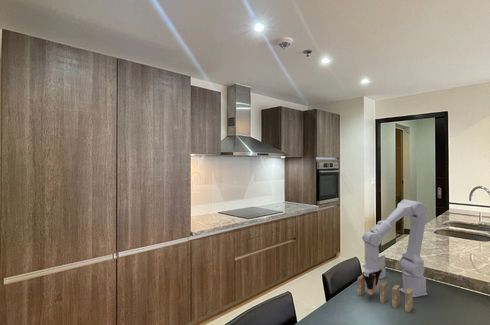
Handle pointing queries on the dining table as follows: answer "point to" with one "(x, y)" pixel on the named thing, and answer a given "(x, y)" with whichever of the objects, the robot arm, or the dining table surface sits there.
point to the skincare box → (382, 265)
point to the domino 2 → (373, 286)
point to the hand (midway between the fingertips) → (372, 286)
